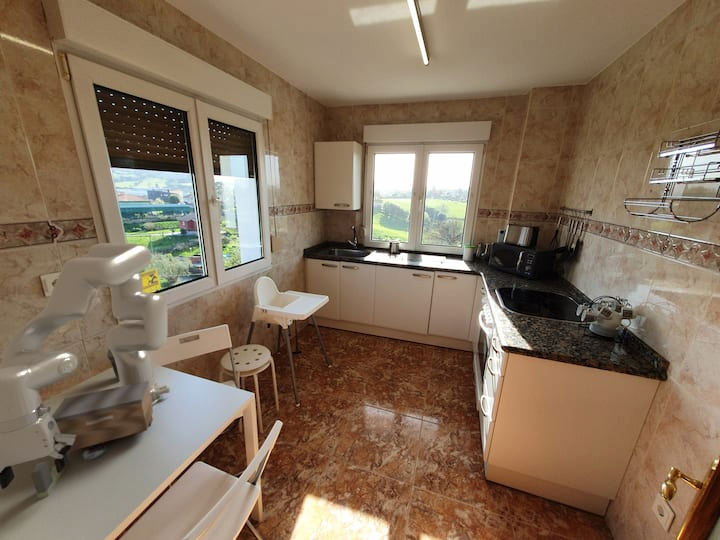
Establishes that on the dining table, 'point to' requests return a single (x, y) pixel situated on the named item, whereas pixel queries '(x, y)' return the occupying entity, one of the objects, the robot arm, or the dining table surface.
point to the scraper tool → (44, 479)
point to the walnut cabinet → (105, 414)
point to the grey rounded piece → (94, 451)
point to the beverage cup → (113, 363)
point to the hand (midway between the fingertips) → (36, 475)
